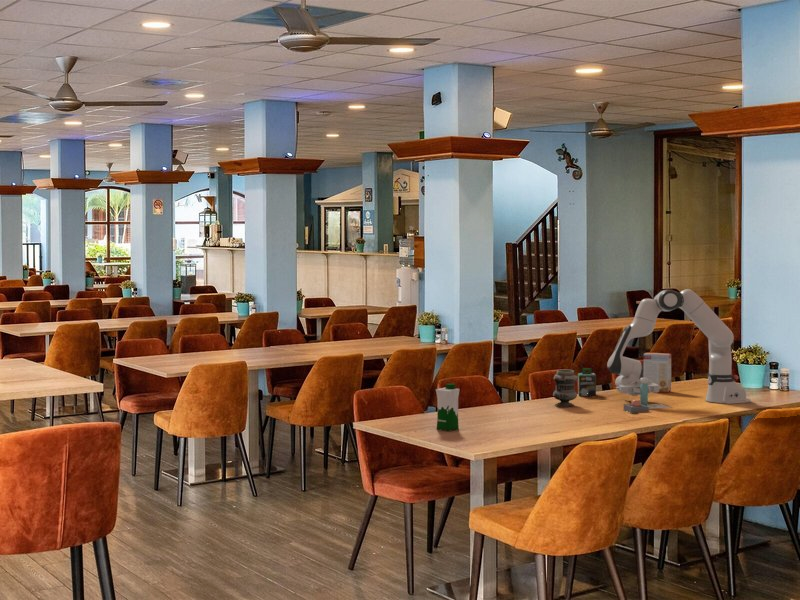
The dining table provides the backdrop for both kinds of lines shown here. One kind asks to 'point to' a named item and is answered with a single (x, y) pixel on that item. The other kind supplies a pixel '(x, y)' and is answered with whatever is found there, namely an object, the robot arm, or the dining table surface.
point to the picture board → (657, 406)
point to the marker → (644, 391)
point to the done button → (636, 403)
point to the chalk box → (586, 383)
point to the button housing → (636, 408)
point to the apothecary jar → (565, 387)
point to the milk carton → (447, 407)
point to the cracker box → (658, 370)
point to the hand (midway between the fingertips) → (644, 390)
